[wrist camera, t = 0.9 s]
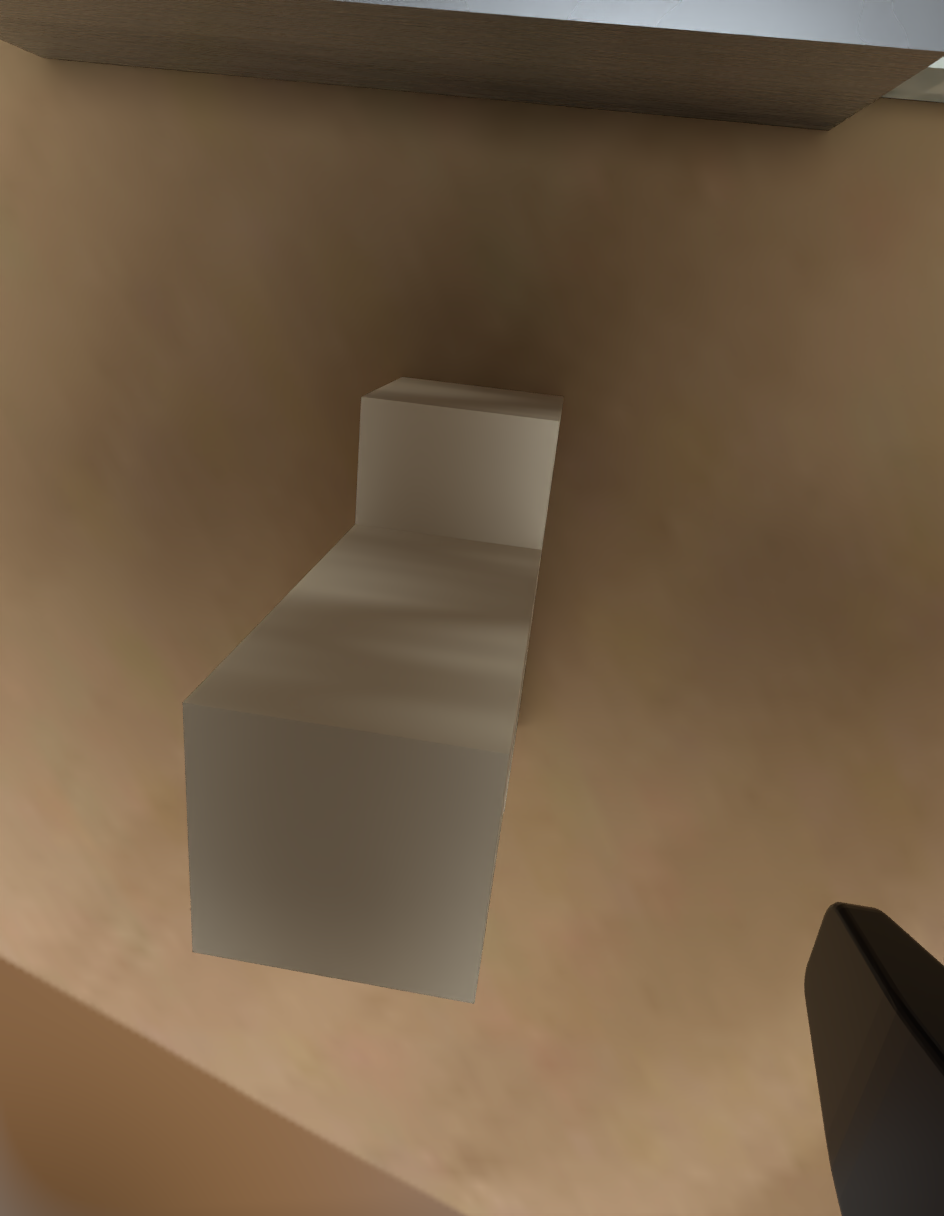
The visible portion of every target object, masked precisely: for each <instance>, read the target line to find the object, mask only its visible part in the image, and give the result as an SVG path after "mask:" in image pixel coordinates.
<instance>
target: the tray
mask: <svg viewBox="0 0 944 1216" xmlns="http://www.w3.org/2000/svg"><path fill="white" fill-rule="evenodd" d="M882 97H886V98H898V99H909V100H920V101H932V102H943V103H944V57H942V58H941V59H939V60H938V61H936V62H934V63H933V64H931V65H930V66H928V67H927V68H925V69H924V70H922V71H920V72H919V73H917V74H916V75H914V76H913V77H911V78H910V79H908V80H906V81H905V82H903V83H902V84H900V85H899V86H897V87H896V88H894V89H892V90H891V91H889V92H888V93H886V94H885V95H883V96H882Z"/></svg>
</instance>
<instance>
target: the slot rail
mask: <svg viewBox="0 0 944 1216" xmlns="http://www.w3.org/2000/svg"><path fill="white" fill-rule="evenodd" d="M0 39H1V40H3V41H5V42H8V43H10V44H12V45H15V46H17V47H19V48H22V49H24V50H26V51H29V52H31V53H33V54H36V55H38V56H40V57H43V58H51V59H62V60H73V61H83V62H94V63H105V64H116V65H127V66H138V67H148V68H159V69H170V70H181V71H192V72H202V73H213V74H224V75H235V76H246V77H257V78H267V79H278V80H289V81H300V82H311V83H321V84H332V85H343V86H354V87H365V88H376V89H386V90H397V91H408V92H419V93H430V94H440V95H451V96H462V97H473V98H484V99H495V100H505V101H516V102H527V103H538V104H549V105H560V106H570V107H581V108H592V109H603V110H614V111H624V112H635V113H646V114H657V115H668V116H679V117H689V118H700V119H711V120H722V121H733V122H743V123H754V124H765V125H776V126H787V127H798V128H808V129H819V130H830V129H832V128H833V127H835V126H836V125H838V124H840V123H841V122H843V121H844V120H846V119H847V118H849V117H850V116H852V115H854V114H855V113H857V112H858V111H860V110H861V109H863V108H864V107H866V106H868V105H869V104H871V103H872V102H874V101H875V100H877V99H878V98H880V97H882V96H883V95H885V94H886V93H888V92H889V91H891V90H892V89H894V88H896V87H897V86H899V85H900V84H902V83H903V82H905V81H906V80H908V79H910V78H911V77H913V76H914V75H916V74H917V73H919V72H920V71H922V70H924V69H925V68H927V67H928V66H930V65H931V64H933V63H934V62H936V61H938V60H939V59H941V58H942V57H944V0H0Z"/></svg>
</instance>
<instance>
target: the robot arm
mask: <svg viewBox="0 0 944 1216" xmlns="http://www.w3.org/2000/svg"><path fill="white" fill-rule="evenodd" d="M804 989H805V1000H806V1006H807V1013H808V1020H809V1027H810V1034H811V1041H812V1047H813V1054H814V1061H815V1068H816V1075H817V1082H818V1089H819V1095H820V1102H821V1109H822V1116H823V1123H824V1130H825V1137H826V1143H827V1149H828V1154H829V1160H830V1166H831V1171H832V1176H833V1180H834V1185H835V1189H836V1193H837V1198H838V1202H839V1206H840V1210H841V1214H842V1216H944V966H943V965H942V964H941V963H940V962H939V961H938V960H937V959H936V958H934V957H933V956H932V955H931V954H930V953H929V952H928V951H927V950H925V949H924V948H923V947H922V946H921V945H920V944H919V943H918V942H916V941H915V940H914V939H913V938H912V937H911V936H910V935H909V934H907V933H906V932H905V931H904V930H903V929H902V928H901V927H900V926H899V925H897V924H896V923H895V922H894V921H893V920H892V919H891V918H890V917H888V916H887V915H886V914H885V913H883V912H882V911H880V910H878V909H876V908H872V907H866V906H860V905H854V904H848V903H842V902H837V903H834V904H832V905H830V907H829V908H828V909H827V911H826V913H825V915H824V918H823V921H822V924H821V927H820V929H819V932H818V935H817V938H816V941H815V944H814V947H813V950H812V953H811V955H810V958H809V961H808V964H807V967H806V972H805V982H804Z"/></svg>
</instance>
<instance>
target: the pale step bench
mask: <svg viewBox="0 0 944 1216" xmlns="http://www.w3.org/2000/svg"><path fill="white" fill-rule="evenodd" d="M563 400H564V396H556V395H548V394H539V393H531V392H523V391H515V390H506V389H498V388H490V387H482V386H473V385H465V384H457V383H449V382H440V381H432V380H424V379H416V378H407V377H401V378H399V379H397V380H395V381H393V382H391V383H389V384H387V385H384V386H382V387H380V388H378V389H376V390H374V391H372V392H370V393H368V394H366V395H364V396H362V397H361V413H360V433H359V454H358V475H357V496H356V516H355V525H354V526H353V527H352V528H351V529H350V530H349V531H348V532H347V533H346V534H345V535H344V536H343V537H342V538H341V539H340V540H339V541H338V542H337V544H336V545H335V546H334V547H333V548H332V549H331V550H330V551H329V552H328V553H327V554H326V555H325V556H324V557H323V558H322V559H321V560H320V561H319V562H318V563H317V564H316V565H315V566H314V567H313V568H312V569H311V570H310V571H309V572H308V573H307V574H306V576H305V577H304V578H303V579H302V580H301V581H300V582H299V583H298V584H297V585H296V586H295V587H294V588H293V589H292V590H291V591H290V592H289V593H288V594H287V595H286V596H285V597H284V598H283V599H282V600H281V601H280V602H279V603H278V604H277V605H276V607H275V608H274V609H273V610H272V611H271V612H270V613H269V614H268V615H267V616H266V617H265V618H264V619H263V620H262V621H261V622H260V623H259V624H258V625H257V626H256V627H255V628H254V629H253V630H252V631H251V632H250V633H249V634H248V635H247V636H246V638H245V639H244V640H243V641H242V642H241V643H240V644H239V645H238V646H237V647H236V648H235V649H234V650H233V651H232V652H231V653H230V654H229V655H228V656H227V657H226V658H225V659H224V660H223V661H222V662H221V663H220V664H219V665H218V666H217V667H216V668H215V670H214V671H213V672H212V673H211V674H210V675H209V676H208V677H207V678H206V679H205V680H204V681H203V682H202V683H201V684H200V685H199V686H198V687H197V688H196V689H195V690H194V691H193V692H192V693H191V694H190V695H189V696H188V697H187V698H186V699H185V701H184V702H183V724H184V749H185V774H186V798H187V823H188V848H189V872H190V897H191V922H192V946H193V952H195V953H201V954H206V955H212V956H217V957H222V958H228V959H233V960H239V961H244V962H250V963H255V964H261V965H266V966H271V967H277V968H282V969H288V970H293V971H299V972H304V973H310V974H315V975H320V976H326V977H331V978H337V979H342V980H348V981H353V982H359V983H364V984H369V985H375V986H380V987H386V988H391V989H397V990H402V991H408V992H413V993H418V994H424V995H429V996H435V997H440V998H446V999H451V1000H457V1001H462V1002H468V1003H473V1004H474V1002H475V996H476V989H477V983H478V976H479V969H480V963H481V956H482V950H483V943H484V936H485V930H486V923H487V917H488V910H489V903H490V897H491V890H492V884H493V877H494V870H495V864H496V857H497V851H498V844H499V837H500V831H501V824H502V818H503V812H504V811H505V804H506V797H507V791H508V784H509V777H510V771H511V764H512V757H513V750H514V744H515V737H516V730H517V724H518V717H519V709H520V702H521V695H522V688H523V681H524V674H525V667H526V660H527V653H528V646H529V639H530V632H531V625H532V618H533V611H534V604H535V597H536V590H537V583H538V576H539V569H540V562H541V555H542V548H543V541H544V534H545V527H546V520H547V513H548V506H549V499H550V492H551V485H552V478H553V471H554V463H555V456H556V449H557V442H558V435H559V428H560V421H561V414H562V407H563Z"/></svg>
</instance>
